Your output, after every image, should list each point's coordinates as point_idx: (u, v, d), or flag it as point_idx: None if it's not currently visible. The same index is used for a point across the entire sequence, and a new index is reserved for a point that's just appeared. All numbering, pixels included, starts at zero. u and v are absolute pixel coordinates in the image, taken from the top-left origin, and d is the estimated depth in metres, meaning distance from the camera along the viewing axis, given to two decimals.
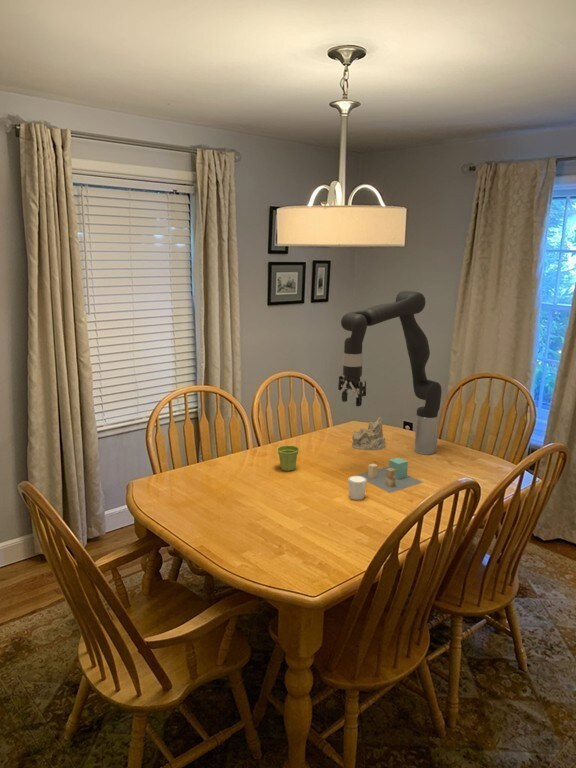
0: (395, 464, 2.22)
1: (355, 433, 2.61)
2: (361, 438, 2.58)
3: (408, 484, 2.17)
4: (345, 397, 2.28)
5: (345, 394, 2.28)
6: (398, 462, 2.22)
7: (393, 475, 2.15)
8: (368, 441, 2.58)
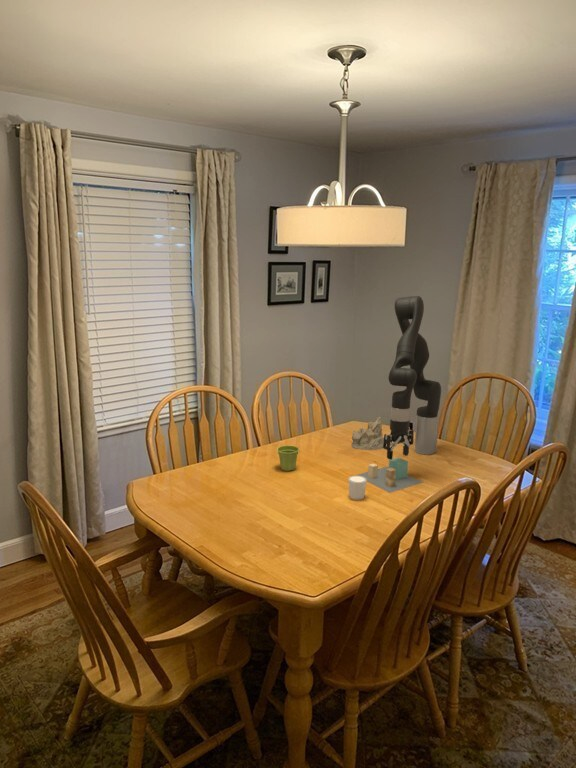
0: (395, 464, 2.22)
1: (355, 433, 2.61)
2: (361, 438, 2.59)
3: (408, 484, 2.17)
4: None
5: None
6: (398, 462, 2.22)
7: (393, 475, 2.15)
8: (367, 440, 2.59)
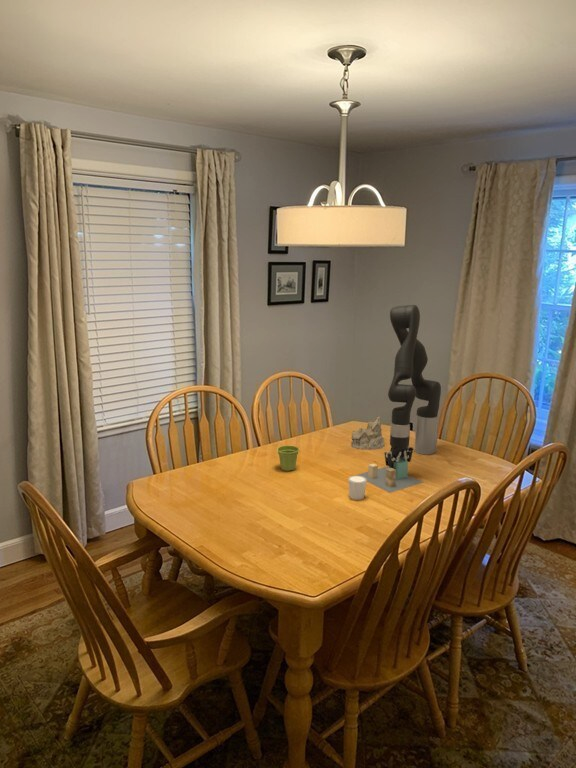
0: None
1: (354, 432, 2.61)
2: (360, 437, 2.59)
3: (408, 484, 2.17)
4: None
5: None
6: (398, 462, 2.22)
7: (393, 475, 2.15)
8: (367, 440, 2.59)
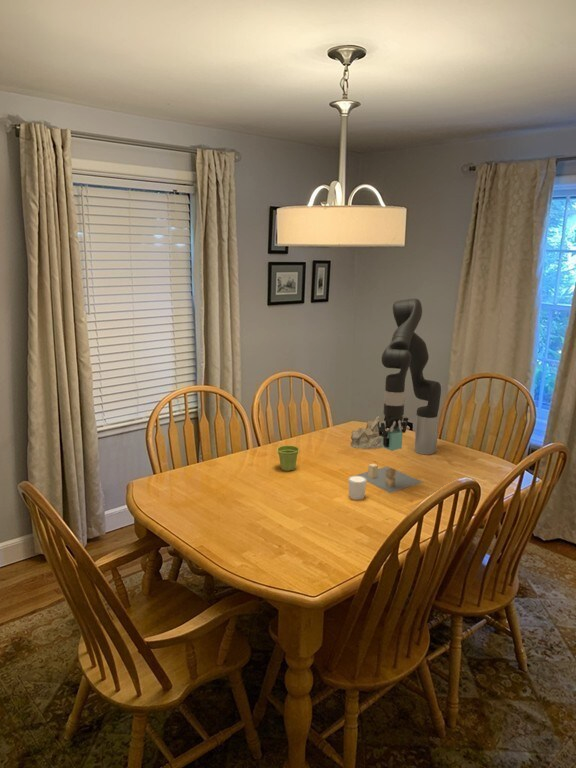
0: None
1: (354, 432, 2.62)
2: (360, 437, 2.60)
3: (408, 484, 2.17)
4: None
5: None
6: (392, 432, 2.10)
7: (393, 475, 2.15)
8: (367, 440, 2.59)
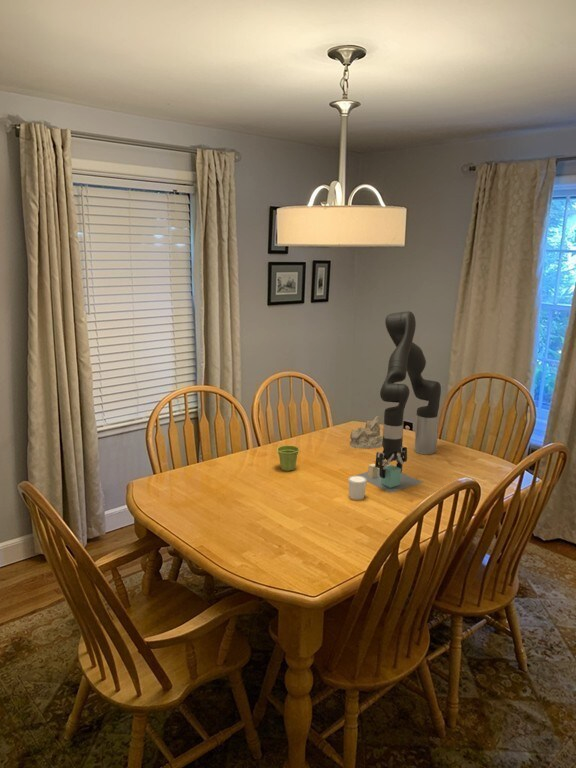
0: (387, 472, 2.13)
1: (353, 432, 2.63)
2: (359, 437, 2.60)
3: (408, 484, 2.17)
4: None
5: None
6: (391, 469, 2.13)
7: None
8: (366, 439, 2.60)
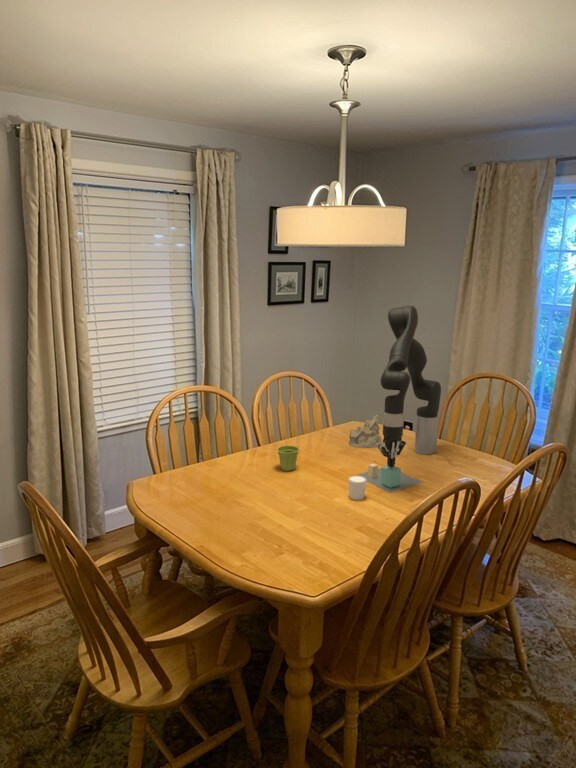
0: (387, 472, 2.13)
1: (352, 431, 2.63)
2: (358, 436, 2.61)
3: (408, 484, 2.17)
4: None
5: None
6: (391, 469, 2.13)
7: None
8: (365, 439, 2.61)
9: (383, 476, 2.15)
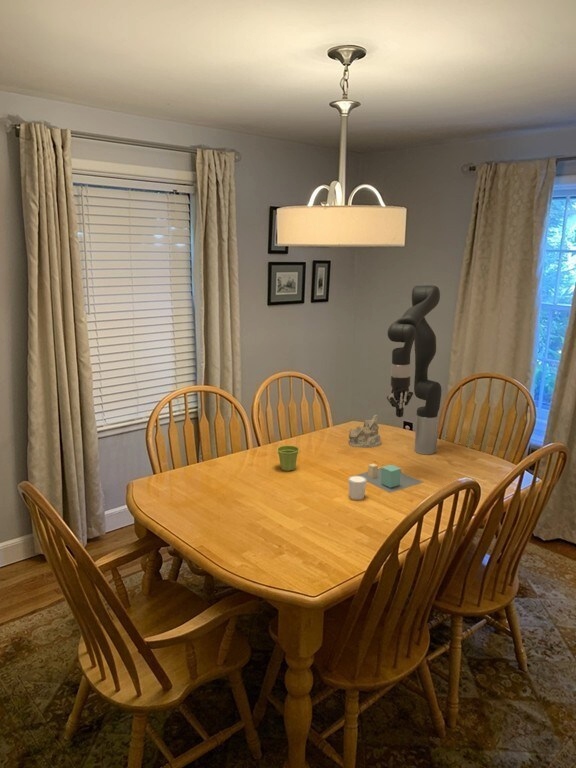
0: (387, 472, 2.13)
1: (352, 431, 2.64)
2: (358, 436, 2.61)
3: (408, 484, 2.17)
4: None
5: None
6: (391, 469, 2.13)
7: None
8: (365, 438, 2.61)
9: (383, 476, 2.15)
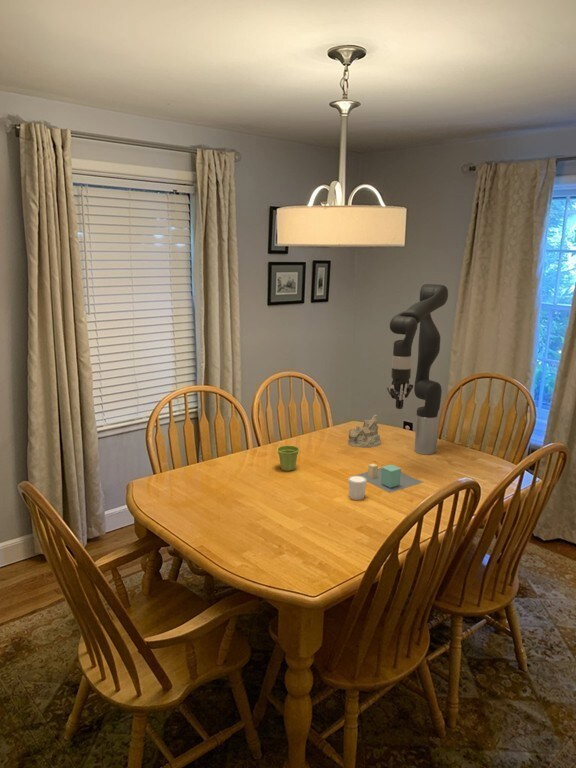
0: (387, 472, 2.13)
1: (351, 431, 2.64)
2: (358, 436, 2.62)
3: (408, 484, 2.17)
4: None
5: None
6: (391, 469, 2.13)
7: None
8: (364, 438, 2.62)
9: (383, 476, 2.15)
